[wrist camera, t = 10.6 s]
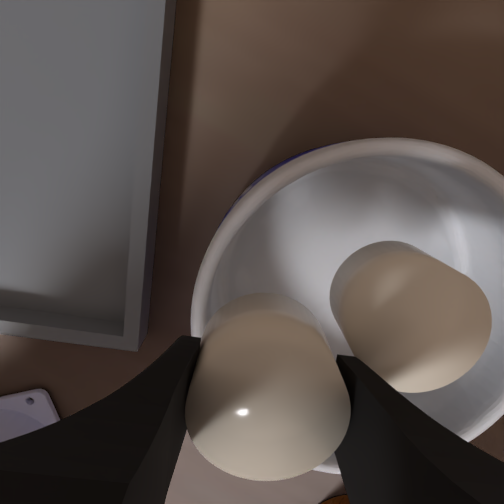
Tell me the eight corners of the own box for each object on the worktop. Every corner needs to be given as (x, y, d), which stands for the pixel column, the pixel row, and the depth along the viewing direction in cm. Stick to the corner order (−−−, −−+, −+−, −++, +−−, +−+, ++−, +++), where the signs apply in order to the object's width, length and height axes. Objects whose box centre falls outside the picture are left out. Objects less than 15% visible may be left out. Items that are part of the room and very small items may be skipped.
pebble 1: (313, 410, 13) (332, 488, 10) (194, 396, 13) (178, 472, 10) (337, 301, 12) (367, 352, 9) (207, 284, 12) (192, 331, 9)
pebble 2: (421, 350, 15) (465, 400, 12) (318, 334, 15) (337, 383, 12) (453, 250, 14) (512, 278, 11) (343, 232, 14) (371, 255, 11)
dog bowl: (288, 83, 18) (309, 52, 12) (529, 225, 20) (645, 256, 14) (162, 331, 21) (130, 398, 16) (378, 429, 24) (421, 520, 18)
